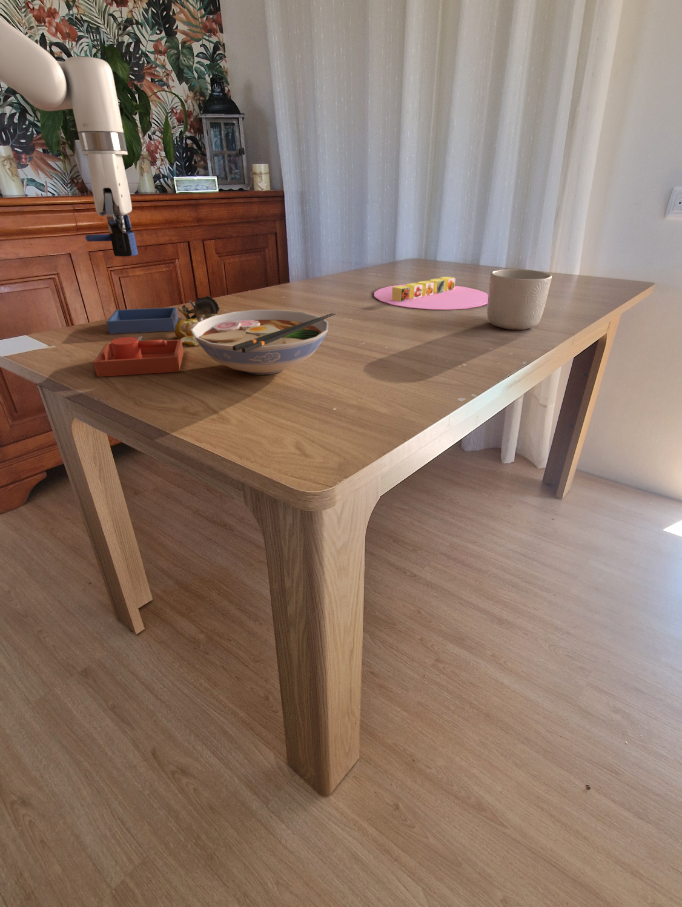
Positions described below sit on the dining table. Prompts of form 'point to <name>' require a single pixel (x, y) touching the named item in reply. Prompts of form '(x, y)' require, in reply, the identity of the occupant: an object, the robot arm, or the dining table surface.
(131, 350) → the red scoop
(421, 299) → the platter
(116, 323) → the blue tray
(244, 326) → the ramen bowl
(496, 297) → the planter
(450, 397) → the dining table surface
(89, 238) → the blue scoop
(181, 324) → the fruit
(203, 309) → the brown figurine
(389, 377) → the dining table surface
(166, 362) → the red tray
